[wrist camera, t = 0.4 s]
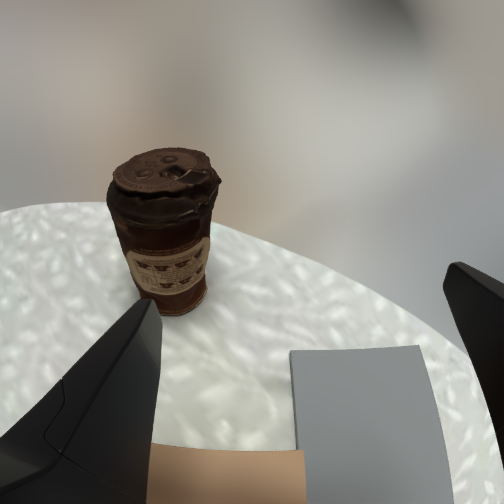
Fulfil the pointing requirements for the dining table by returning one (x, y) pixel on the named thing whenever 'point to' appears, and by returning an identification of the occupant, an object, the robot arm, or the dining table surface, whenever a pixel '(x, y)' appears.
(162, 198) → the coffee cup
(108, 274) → the dining table surface
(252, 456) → the wooden seat
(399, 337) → the dining table surface
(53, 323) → the dining table surface
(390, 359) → the mat
